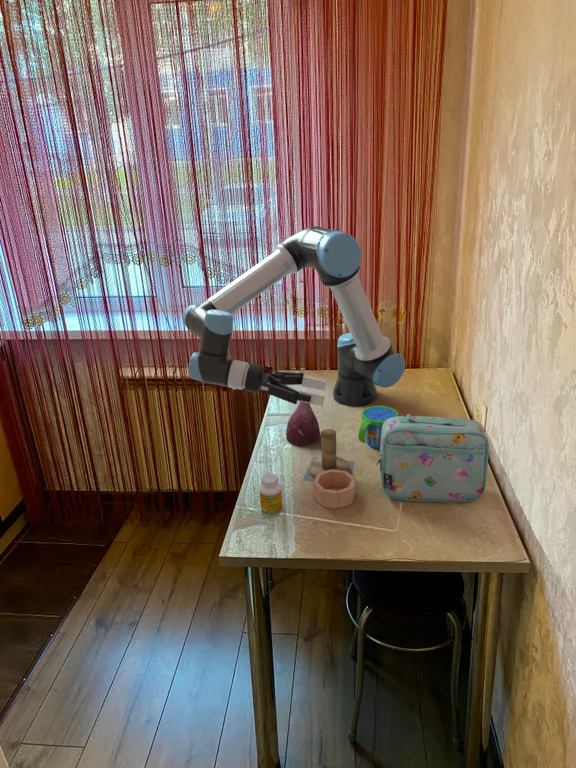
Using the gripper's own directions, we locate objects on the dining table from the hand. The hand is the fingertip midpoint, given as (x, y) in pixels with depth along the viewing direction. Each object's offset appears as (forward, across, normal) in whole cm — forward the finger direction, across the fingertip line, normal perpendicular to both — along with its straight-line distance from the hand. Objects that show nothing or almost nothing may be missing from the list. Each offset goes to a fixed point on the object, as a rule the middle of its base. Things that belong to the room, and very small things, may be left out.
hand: (324, 393), depth 148 cm
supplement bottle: (-7, +18, -28) cm, 34 cm away
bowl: (+8, +12, -23) cm, 27 cm away
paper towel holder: (+6, +1, -21) cm, 22 cm away
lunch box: (+31, +10, -18) cm, 37 cm away
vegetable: (-3, -17, -21) cm, 28 cm away
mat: (+6, +1, -22) cm, 23 cm away
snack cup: (+19, -15, -17) cm, 29 cm away
